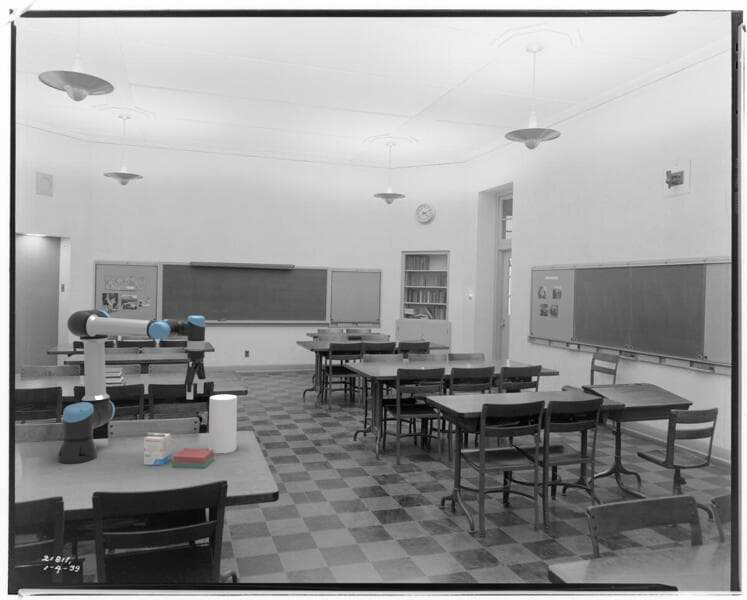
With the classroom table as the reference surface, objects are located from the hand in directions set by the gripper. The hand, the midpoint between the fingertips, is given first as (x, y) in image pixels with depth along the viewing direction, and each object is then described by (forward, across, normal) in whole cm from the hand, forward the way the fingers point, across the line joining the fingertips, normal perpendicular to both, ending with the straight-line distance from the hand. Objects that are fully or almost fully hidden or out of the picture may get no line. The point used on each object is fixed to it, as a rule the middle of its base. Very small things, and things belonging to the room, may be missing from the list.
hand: (195, 396), depth 252 cm
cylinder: (+27, +8, -11) cm, 30 cm away
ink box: (+27, -13, +12) cm, 32 cm away
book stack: (+27, -13, -4) cm, 30 cm away
